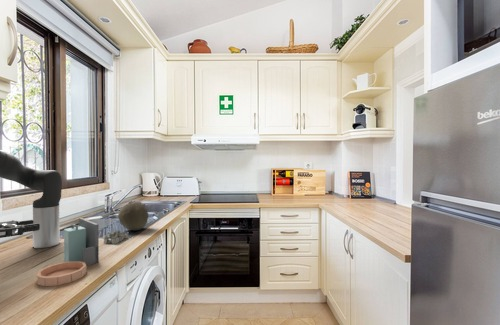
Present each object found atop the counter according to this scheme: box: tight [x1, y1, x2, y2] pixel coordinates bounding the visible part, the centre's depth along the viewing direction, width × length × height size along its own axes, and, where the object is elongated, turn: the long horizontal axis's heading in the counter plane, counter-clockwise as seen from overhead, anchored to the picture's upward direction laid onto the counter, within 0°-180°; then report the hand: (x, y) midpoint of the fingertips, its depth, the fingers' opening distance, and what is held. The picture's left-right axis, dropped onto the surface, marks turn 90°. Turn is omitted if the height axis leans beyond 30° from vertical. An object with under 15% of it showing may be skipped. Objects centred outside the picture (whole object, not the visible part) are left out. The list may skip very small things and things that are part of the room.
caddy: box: [63, 223, 86, 262], centre depth 96 cm, size 6×5×14 cm
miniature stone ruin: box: [102, 230, 129, 245], centre depth 121 cm, size 11×8×4 cm
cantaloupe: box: [117, 202, 149, 231], centre depth 138 cm, size 14×14×15 cm
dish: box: [36, 261, 87, 287], centre depth 83 cm, size 13×13×2 cm
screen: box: [78, 217, 100, 267], centre depth 98 cm, size 5×17×14 cm, turn 51°
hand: (36, 224), depth 87 cm, fingers open, 8 cm apart
